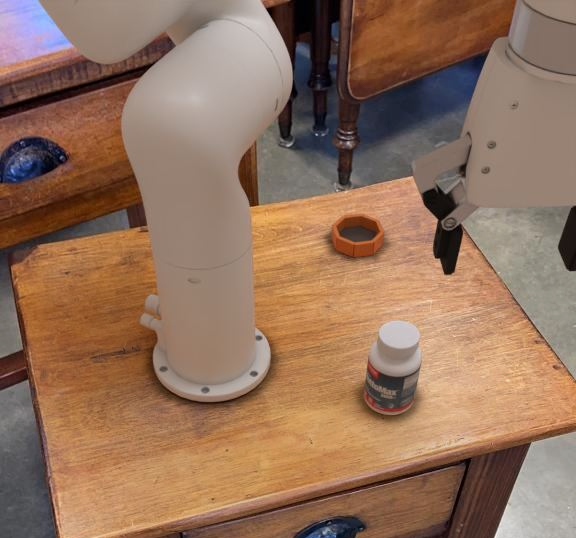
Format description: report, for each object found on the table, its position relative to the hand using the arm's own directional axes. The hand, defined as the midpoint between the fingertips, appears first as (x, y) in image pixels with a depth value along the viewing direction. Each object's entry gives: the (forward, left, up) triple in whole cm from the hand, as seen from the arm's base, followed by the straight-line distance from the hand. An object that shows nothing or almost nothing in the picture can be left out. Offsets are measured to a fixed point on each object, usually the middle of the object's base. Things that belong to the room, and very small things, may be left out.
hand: (506, 261), depth 65 cm
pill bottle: (-9, +2, -23) cm, 24 cm away
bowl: (-26, +23, -22) cm, 41 cm away
